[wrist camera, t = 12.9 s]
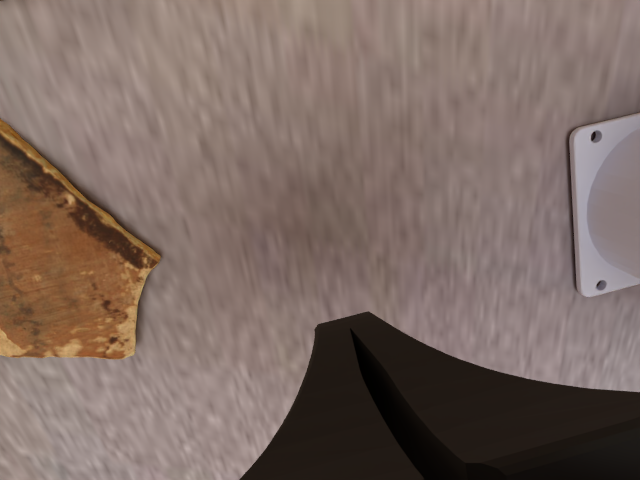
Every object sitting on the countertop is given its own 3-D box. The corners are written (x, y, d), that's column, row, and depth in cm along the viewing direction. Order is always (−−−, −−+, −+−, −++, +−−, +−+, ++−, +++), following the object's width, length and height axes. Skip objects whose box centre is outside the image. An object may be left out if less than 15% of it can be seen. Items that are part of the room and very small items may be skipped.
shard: (-53, 68, 18) (-85, 65, 16) (165, 88, 19) (156, 88, 17) (-24, 338, 21) (-49, 360, 19) (163, 341, 22) (156, 362, 20)
